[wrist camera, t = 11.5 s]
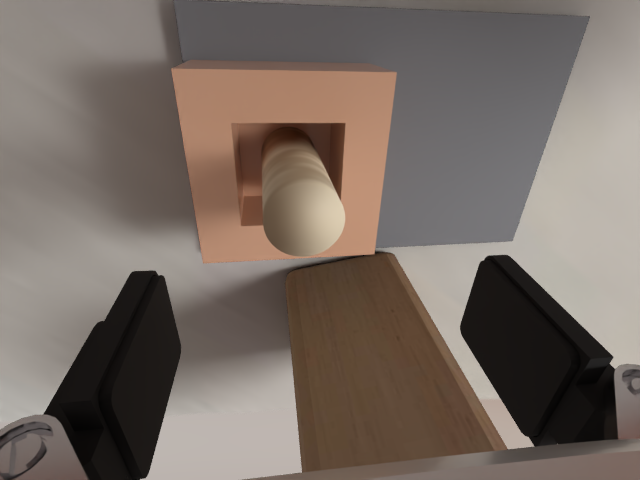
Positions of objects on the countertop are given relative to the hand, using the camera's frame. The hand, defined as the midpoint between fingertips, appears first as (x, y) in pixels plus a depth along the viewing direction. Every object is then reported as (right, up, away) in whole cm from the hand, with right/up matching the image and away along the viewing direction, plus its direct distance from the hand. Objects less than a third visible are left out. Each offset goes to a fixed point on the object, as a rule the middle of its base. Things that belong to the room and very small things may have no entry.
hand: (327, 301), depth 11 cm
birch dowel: (-2, +8, +13) cm, 16 cm away
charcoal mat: (+4, +9, +16) cm, 19 cm away
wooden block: (+2, -4, +23) cm, 24 cm away
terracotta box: (-3, +8, +14) cm, 17 cm away
